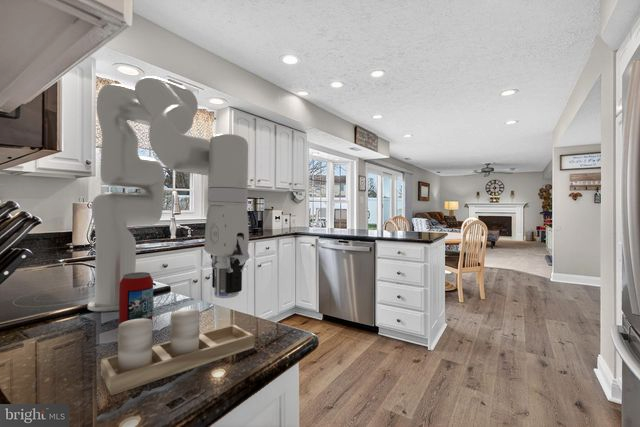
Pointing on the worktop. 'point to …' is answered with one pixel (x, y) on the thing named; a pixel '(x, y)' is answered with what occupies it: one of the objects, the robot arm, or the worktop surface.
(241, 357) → the worktop surface
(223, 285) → the pill bottle
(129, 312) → the beverage can
